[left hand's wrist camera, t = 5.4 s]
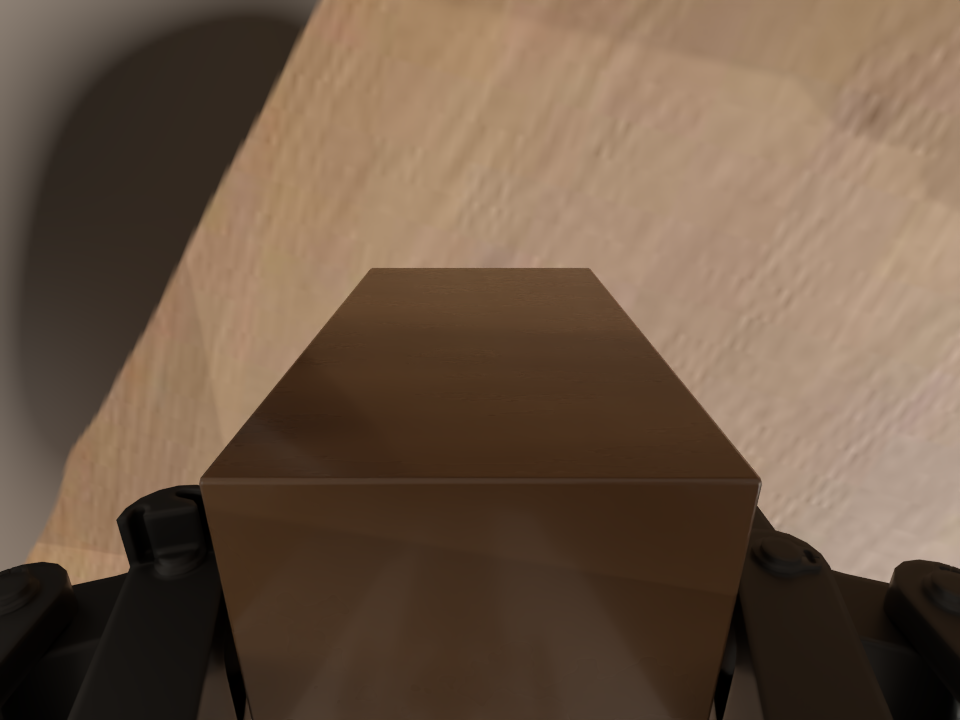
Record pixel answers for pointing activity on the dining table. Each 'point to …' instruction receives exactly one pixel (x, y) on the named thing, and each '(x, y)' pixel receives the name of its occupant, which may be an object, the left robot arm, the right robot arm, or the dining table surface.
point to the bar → (480, 512)
